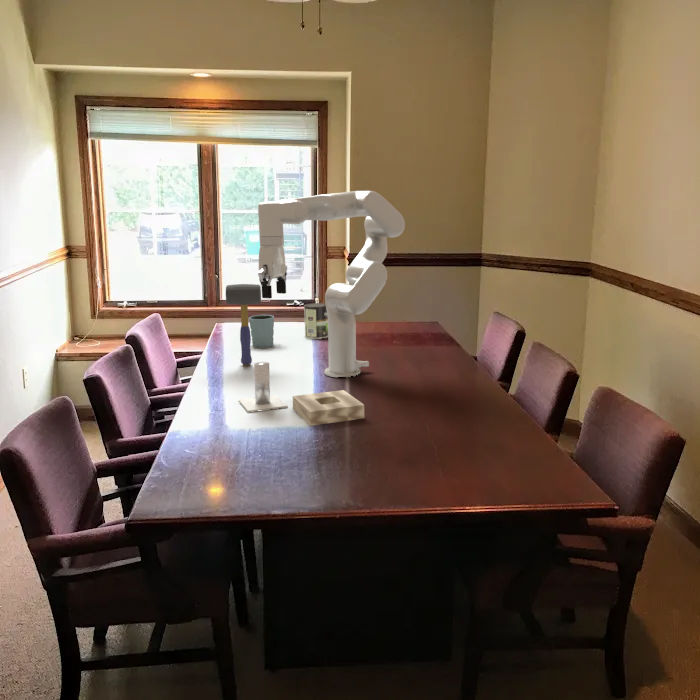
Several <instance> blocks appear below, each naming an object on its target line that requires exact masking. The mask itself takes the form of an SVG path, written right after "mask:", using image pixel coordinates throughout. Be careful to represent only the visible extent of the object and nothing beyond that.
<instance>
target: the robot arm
mask: <svg viewBox="0 0 700 700" xmlns="http://www.w3.org/2000/svg"><path fill="white" fill-rule="evenodd" d="M257 211H258V213H257V215H258V232H259V233H258V234H259V251H258V273H257V276H258V277H259V279H258V280H259V283H260V287H261V299H272V298H273V293H272V291H273V290H272V285H271V283H272V280H273V279H274V280H275V279H276V281H275V282H276V283H275V284H276V294H285V295H286V293H287V275H288V272H287V271H288V266H287V265H286V256H285V250H284V247H285V241H284V240H285V239H284V224H285V225H300V224H303V223H304V222H306V221H319V222H321V221H322V222H324V221H325V222H326V221H336V220H342V219H343V220H344V219H351V218H357V217H365V219H364V223H363V224H364V230H365V231H364V232H365V243H364V245H363V247H362V248H361V250H360V251H359V252H358V253H357V255H356V257H354V259H353V260H352V262H351V263H350V264H349V266H348V267H347V269H346V271H345V279H346V281H347V282H348V283H344V282H335V283H333V284H331V285H330V286H328V287H327V289H326V291H325V293H324V302H325V303H324V304H326V309H327V316H328V337H327V340H328V341H327V343H328V345H327V346H328V347H327V348H328V367H326V368H325V369H324V372H323V374H324V375H326V376H327V377H331V378H338V377H346V378H352V377H351V376H353V377H356V375H357V376H359V375H360V374H361V368H362V367H363V368H364V367H369V366H370V362H369V360H365V361H363V360H358V359H357V358H356V357H357V352H356V351H357V350H356V349H357V344H356V343H357V341H356V338H357V335H356V334H357V333H356V331H357V330H356V329H357V326H356V325H357V323H356V317H355V315H361V314H363V313H365V312H366V311H367V310H368V308H369V307H370V306H371V305H372V303H373V302H374V301H375V300H376V298H377V297H378V295H379V294H380V292H381V291H382V290H383V288H384V287H385V285H386V283H387V280H388V270H387V268H386V266H385V265H384V264H383V262H384V260H385V259H386V257H387V255H388V241H387V240H388V239H387V238H396V237H399V236H401V235H403V232H404V231H405V227H406V221H405V219H404V217H403V215H402V214H401V212H399V210H398V209H396V208H395V207H394V205H392V204H391V202H389V201H388V200H387V199H386V198H385V197H384V196H382V195H381V194H380V193H378V192H377V191H374V190H353V191H342V192H335V193H326V194H318V195H313V196H312V195H311V196H305V197H296V198H288V199H279V200H277V201H261V202H259V204H258V206H257ZM358 374H359V375H358Z"/></svg>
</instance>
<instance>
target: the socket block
mask: <svg viewBox="0 0 700 700" xmlns="http://www.w3.org/2000/svg"><path fill="white" fill-rule="evenodd" d="M293 409H294V410H295V411H296V412H297V413H298V414H297V413H296V412H295V411H294V410H293ZM292 410H293V411H294V412H295V413H296V414H297V415H299V416H300V418H302V419H303V420H304V421H305V422H306V424H308V425H309V426H310V427H311V426H317V425H318V426H319V425H320V426H321V425H326V424H332V423H333V424H334V423H340V422H341V423H342V422H347V421H354V420H361V419H365V404H364V403H362V402H361V401H360V400H358V399H356V398H355V397H354V396H353V395H351V394H350V393H349V392H347V391H346V390H344V389H342V390H333V391H326V392H325V391H324V392H316V393H310V394H309V393H308V394H307V393H306V394H301V395H292Z"/></svg>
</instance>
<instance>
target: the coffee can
mask: <svg viewBox="0 0 700 700" xmlns="http://www.w3.org/2000/svg"><path fill="white" fill-rule="evenodd" d="M303 310H304V338H306V339H308V340H323V339H322V338H324V339H328V316H327V309H326V304H325V303H321V302H319V303H318V302H312V303H305V304H304V305H303Z"/></svg>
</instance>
